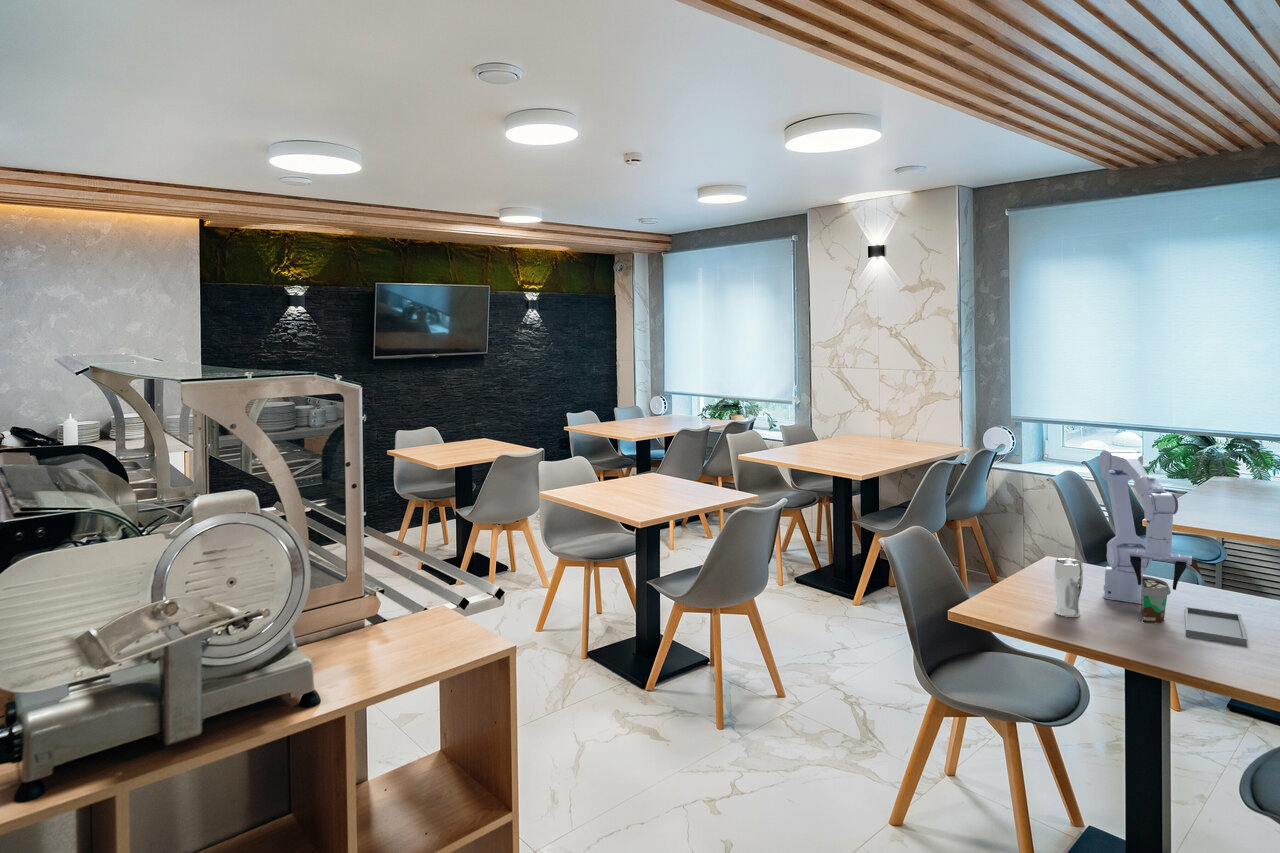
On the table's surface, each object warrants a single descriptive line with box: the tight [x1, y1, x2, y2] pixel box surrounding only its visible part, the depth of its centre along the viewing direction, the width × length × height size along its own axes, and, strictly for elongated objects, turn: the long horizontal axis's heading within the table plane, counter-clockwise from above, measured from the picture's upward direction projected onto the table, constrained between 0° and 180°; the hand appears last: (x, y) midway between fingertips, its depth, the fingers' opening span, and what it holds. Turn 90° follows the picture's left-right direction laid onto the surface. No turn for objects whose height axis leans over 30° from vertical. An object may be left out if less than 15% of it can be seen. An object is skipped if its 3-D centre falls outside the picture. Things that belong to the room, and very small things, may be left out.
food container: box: [1140, 575, 1171, 624], centre depth 198 cm, size 12×6×10 cm, turn 148°
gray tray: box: [1184, 606, 1248, 646], centre depth 191 cm, size 12×20×2 cm, turn 144°
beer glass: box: [1053, 558, 1084, 618], centre depth 203 cm, size 7×7×15 cm
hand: (1156, 586), depth 198 cm, fingers open, 7 cm apart
